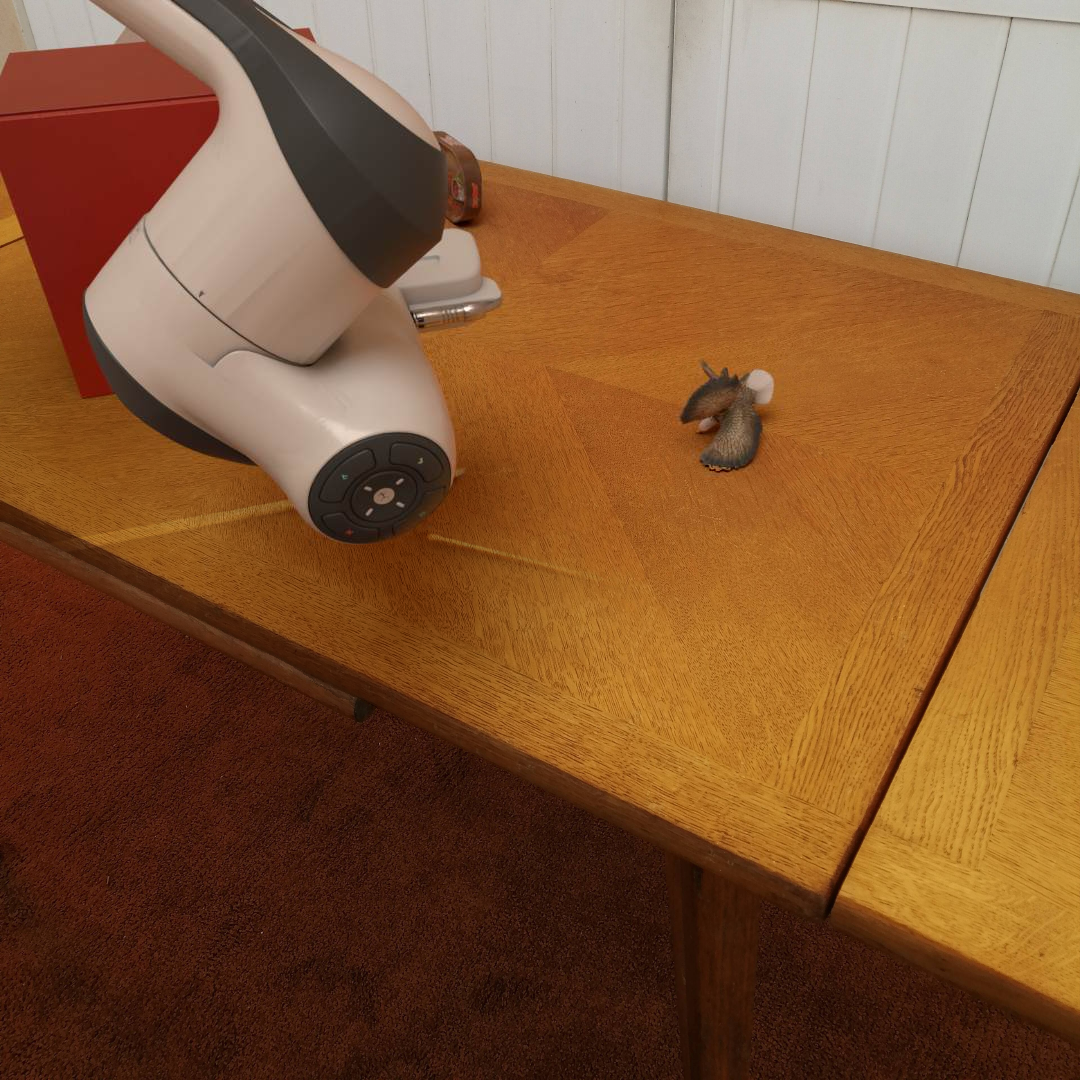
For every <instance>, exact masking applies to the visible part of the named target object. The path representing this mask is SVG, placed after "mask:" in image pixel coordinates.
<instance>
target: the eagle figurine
mask: <svg viewBox="0 0 1080 1080" xmlns="http://www.w3.org/2000/svg"><path fill="white" fill-rule="evenodd" d="M699 363H700V366H701V368H702V370H703V372H704V374H706V376H707V377H708V378H709V379H708V380H707V381H705V382H704V383H703V384H701V385H700V386H699V387H698V388H697V389H696V390H695V391H693V392H692V393H691V394H690V397H689V398H688V399H687V400H686V403H685V404H684V405H683V408H682V411H681V413H680V414H679V420H680V421H679V422H681V425H687V424H689V423H693V422H696V421H698V422H699V421H700V423H699V424H698V428H697V429H696V430H695V433H696V432H697V433H696V434H699V433H700V432H707V431H709V430H710V429H711V428H713V426H715V425H717V424H718V423H720V425H719V428H718V430H717V432H716V434H715V436H714V438H713V439H712V441H711V442H710V443H709V445H708V446H707V447H706V448H705V449H704V450H703V452H701V454H700V456H699V460H700V461H702V464H704V465H703V466H705V465H708V464H710V465H711V467H713V465H714V466H718V467H719V468H722V467H726V469H729V468H731V467H732V469H733V468H734V467H736V468H737V467H739V468H740V467H744V466H746V465H747V464H748V463H749V462H750V461H752V460H753V459H754V455H756V453H757V448H758V446H759V441H760V437H761V434H762V433H763V430H764V429H763V428H764V427H763V420H762V419H761V416H760V415H759V413H758V412H757V410H755V409H756V408H755V406H754V405H756V406H757V405H758V406H759V405H760V406H766V405H769V404H770V403H771V401H772V399H773V395H774V390H775V380H774V377H773V376H772V375H771V373H769V372H767V370H763V369H760V368H754V369H752V370H751V372H749V371H747V372H745V374H744V375H742V376H741V377H740V378H739V376H738V374H737V373H734V374H733V376H730V375H729V370H728V367H727V366H724V367H723V368H722V369H721V371H720V374H719V375H718V374H717V373H716V372H714V371H713V370H712V368H710V367H709V364H708V363H707V362H706V360H704V359H700V360H699Z"/></svg>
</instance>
